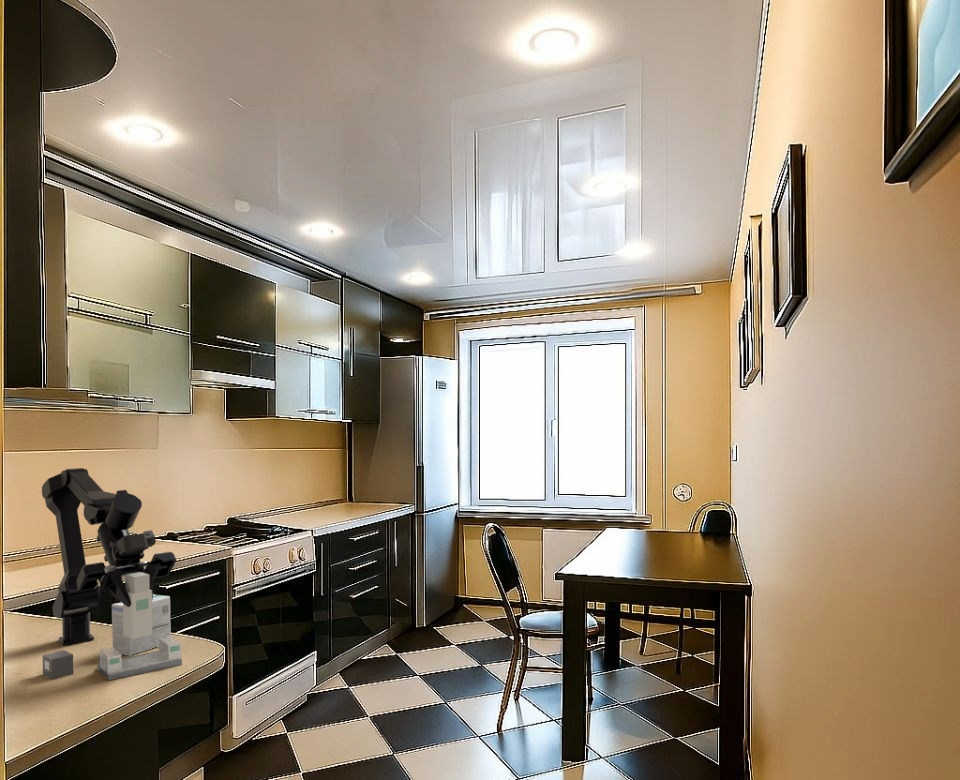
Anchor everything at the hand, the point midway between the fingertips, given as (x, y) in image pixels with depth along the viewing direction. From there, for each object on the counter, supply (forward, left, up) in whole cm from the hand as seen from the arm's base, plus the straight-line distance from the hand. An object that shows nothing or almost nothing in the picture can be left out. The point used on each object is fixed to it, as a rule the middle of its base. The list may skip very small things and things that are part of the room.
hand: (140, 603), depth 153 cm
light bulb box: (-16, +4, -14) cm, 22 cm away
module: (-1, 0, -7) cm, 7 cm away
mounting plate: (-2, 0, -13) cm, 14 cm away
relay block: (-9, -14, -14) cm, 21 cm away
